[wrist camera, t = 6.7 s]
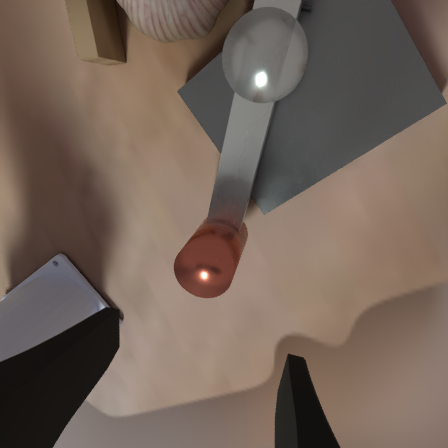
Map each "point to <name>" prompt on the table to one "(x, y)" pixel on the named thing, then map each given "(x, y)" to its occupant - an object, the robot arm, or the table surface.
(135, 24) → the garlic bulb
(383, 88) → the base
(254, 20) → the lever
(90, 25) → the bar
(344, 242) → the table surface
